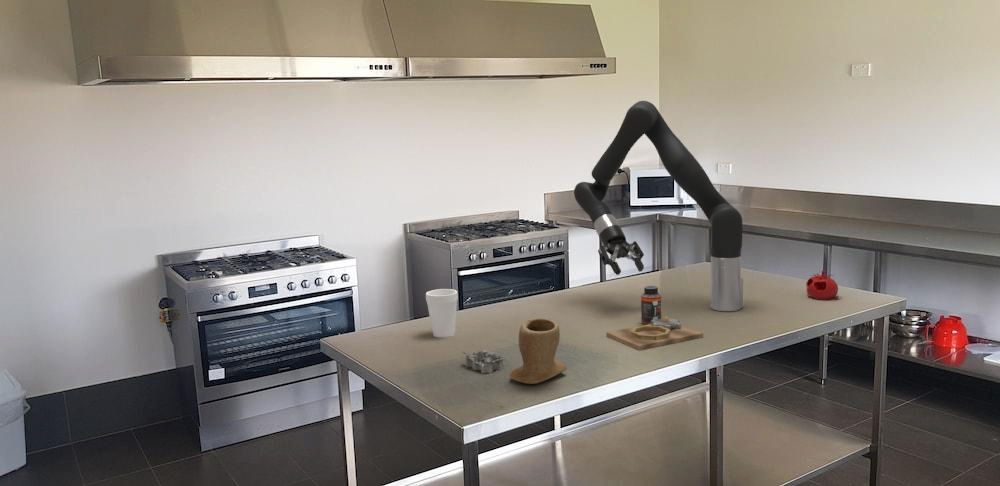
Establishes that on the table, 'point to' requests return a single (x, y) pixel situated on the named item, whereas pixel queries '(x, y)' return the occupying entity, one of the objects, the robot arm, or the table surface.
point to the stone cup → (538, 351)
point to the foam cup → (442, 311)
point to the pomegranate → (821, 287)
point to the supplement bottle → (650, 305)
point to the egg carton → (484, 361)
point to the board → (654, 334)
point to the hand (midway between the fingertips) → (630, 271)
